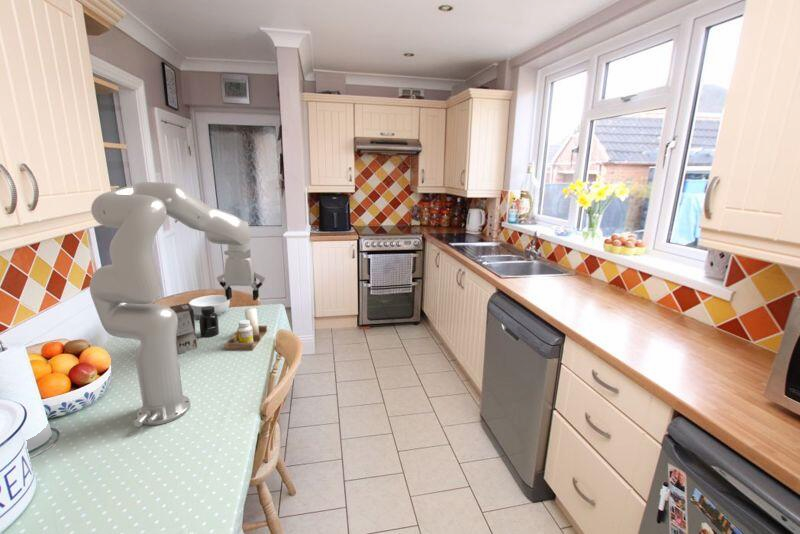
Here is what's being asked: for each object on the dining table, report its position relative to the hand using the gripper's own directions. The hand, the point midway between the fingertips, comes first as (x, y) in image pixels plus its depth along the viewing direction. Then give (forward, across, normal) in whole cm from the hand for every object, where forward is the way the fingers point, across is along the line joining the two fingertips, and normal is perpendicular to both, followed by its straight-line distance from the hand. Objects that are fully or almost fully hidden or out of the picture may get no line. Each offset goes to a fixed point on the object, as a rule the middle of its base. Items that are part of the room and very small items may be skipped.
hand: (242, 299), depth 140 cm
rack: (+19, -1, +5) cm, 20 cm away
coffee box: (+20, -22, -1) cm, 29 cm away
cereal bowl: (+19, -28, +33) cm, 47 cm away
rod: (+18, 0, +9) cm, 20 cm away
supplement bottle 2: (+19, 0, 0) cm, 19 cm away
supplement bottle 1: (+20, -18, +10) cm, 28 cm away
